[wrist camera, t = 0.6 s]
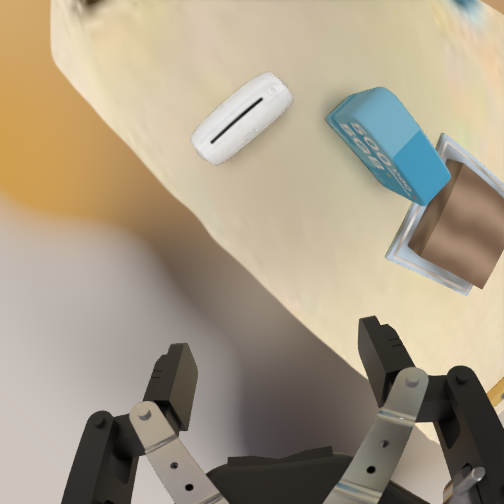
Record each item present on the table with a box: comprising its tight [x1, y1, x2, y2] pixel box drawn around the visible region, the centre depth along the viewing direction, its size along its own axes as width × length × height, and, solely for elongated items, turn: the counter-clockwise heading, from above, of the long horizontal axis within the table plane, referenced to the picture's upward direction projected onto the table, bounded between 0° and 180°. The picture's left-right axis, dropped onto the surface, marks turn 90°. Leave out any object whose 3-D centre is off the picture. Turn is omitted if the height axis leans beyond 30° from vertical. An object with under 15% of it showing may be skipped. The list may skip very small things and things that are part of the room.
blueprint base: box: [385, 133, 504, 296], centre depth 36 cm, size 20×20×5 cm
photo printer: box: [190, 72, 293, 166], centre depth 28 cm, size 10×4×12 cm, turn 132°
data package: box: [326, 87, 451, 206], centre depth 29 cm, size 12×4×12 cm, turn 47°
